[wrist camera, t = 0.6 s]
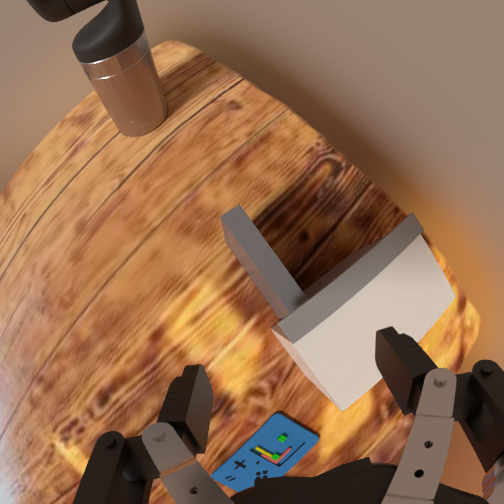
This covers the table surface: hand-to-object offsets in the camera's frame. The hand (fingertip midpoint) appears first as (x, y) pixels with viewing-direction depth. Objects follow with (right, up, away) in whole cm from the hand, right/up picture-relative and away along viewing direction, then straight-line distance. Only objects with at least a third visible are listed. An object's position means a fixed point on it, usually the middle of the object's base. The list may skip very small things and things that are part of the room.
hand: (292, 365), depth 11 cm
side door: (+3, +5, +24) cm, 25 cm away
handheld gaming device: (0, -24, +19) cm, 31 cm away
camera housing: (+10, -2, +24) cm, 26 cm away
